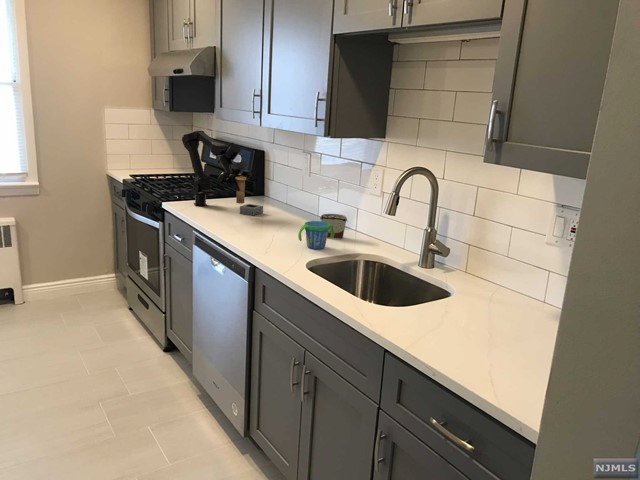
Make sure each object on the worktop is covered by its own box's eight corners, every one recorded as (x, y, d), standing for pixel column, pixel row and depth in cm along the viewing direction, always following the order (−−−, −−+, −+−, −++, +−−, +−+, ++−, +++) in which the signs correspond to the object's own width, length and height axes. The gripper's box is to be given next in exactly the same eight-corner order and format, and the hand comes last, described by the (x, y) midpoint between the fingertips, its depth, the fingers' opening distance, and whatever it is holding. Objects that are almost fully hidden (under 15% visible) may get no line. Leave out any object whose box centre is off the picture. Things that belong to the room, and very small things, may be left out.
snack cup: (301, 251, 203) (303, 227, 200) (294, 244, 212) (295, 221, 210) (337, 250, 208) (339, 226, 205) (328, 243, 218) (330, 220, 215)
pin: (233, 202, 256) (233, 176, 252) (242, 201, 259) (243, 176, 255) (237, 204, 252) (238, 178, 248) (247, 203, 255) (248, 177, 251)
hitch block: (239, 213, 262) (239, 206, 261) (248, 211, 270) (248, 203, 269) (254, 216, 259) (254, 208, 258) (262, 213, 267) (263, 205, 266)
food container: (346, 236, 232) (348, 214, 229) (346, 239, 226) (347, 217, 223) (320, 233, 233) (321, 212, 230) (318, 237, 227) (320, 215, 224)
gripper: (221, 156, 245) (236, 182, 241) (250, 154, 259) (264, 179, 255) (211, 170, 251) (225, 195, 248) (239, 168, 265) (253, 192, 262)
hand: (242, 190), depth 253 cm, fingers closed on pin, 4 cm apart
